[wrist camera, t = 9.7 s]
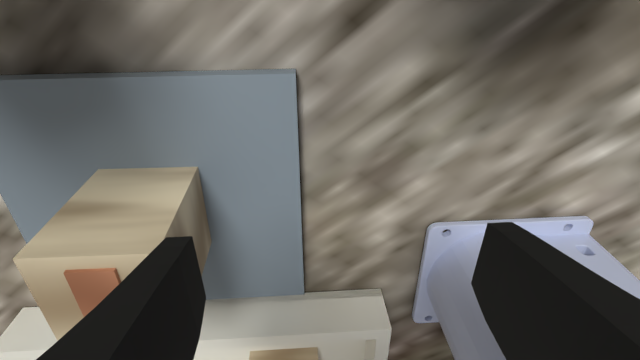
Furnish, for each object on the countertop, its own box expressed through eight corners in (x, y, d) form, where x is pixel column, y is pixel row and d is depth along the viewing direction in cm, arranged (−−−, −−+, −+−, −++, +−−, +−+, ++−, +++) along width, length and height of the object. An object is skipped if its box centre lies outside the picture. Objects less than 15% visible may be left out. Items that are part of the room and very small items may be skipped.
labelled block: (211, 241, 19) (181, 345, 14) (124, 245, 19) (59, 351, 14) (198, 166, 17) (155, 256, 12) (98, 169, 17) (9, 262, 12)
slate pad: (295, 68, 16) (295, 73, 15) (303, 284, 23) (304, 294, 22) (-43, 76, 15) (-59, 81, 15) (67, 296, 22) (60, 307, 21)
